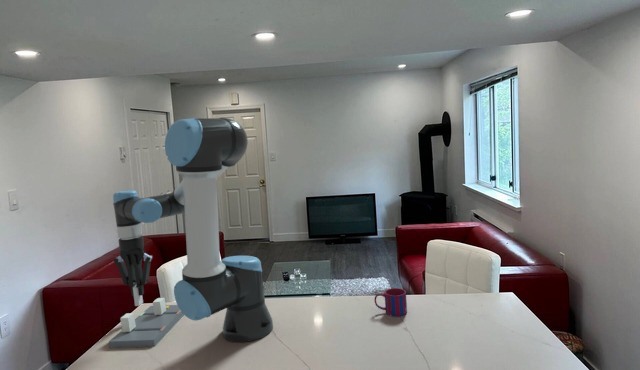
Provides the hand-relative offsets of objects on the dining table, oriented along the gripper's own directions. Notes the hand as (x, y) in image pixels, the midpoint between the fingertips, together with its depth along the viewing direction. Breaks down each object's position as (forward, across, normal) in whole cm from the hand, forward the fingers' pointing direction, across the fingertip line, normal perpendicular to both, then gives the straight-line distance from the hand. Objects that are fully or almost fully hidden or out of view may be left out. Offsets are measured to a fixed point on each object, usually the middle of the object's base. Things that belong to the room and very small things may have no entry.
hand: (139, 304), depth 144 cm
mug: (+5, -85, +2) cm, 85 cm away
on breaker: (+3, -3, +12) cm, 13 cm away
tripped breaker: (+3, -7, 0) cm, 8 cm away
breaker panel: (+5, -7, +6) cm, 11 cm away
